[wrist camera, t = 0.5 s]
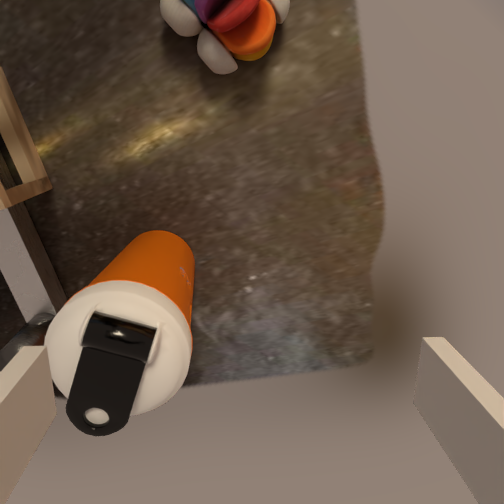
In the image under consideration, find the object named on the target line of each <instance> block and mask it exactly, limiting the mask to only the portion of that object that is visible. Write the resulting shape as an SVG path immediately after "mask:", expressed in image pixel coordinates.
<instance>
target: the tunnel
mask: <svg viewBox="0 0 504 504" xmlns="http://www.w3.org/2000/svg"><path fill="white" fill-rule="evenodd" d="M0 133H1V135H2V137H3V140H4V142H5V144H6V146H7V149H8V151H9V153H10V155H11V158H12V160H13V162H14V164H15V166H16V169H17V171H18V173H19V175H20V178H21V180H22V182H23V184H21V185H18V186H15V187H12V188H9V189H6V190H4V187H3V185H2V183H1V181H0V210H3V209H6V208H8V207H11V206H13V205H15V204H18V203H20V202H22V201H25V200H27V199H29V198H32V197H34V196H36V195H39V194H41V193H43V192H46V191H48V190H50V189H53V187H52V185H51V182H50V180H49V178H48V175H47V173H46V171H45V168H44V166H43V164H42V161H41V159H40V157H39V154H38V152H37V150H36V147H35V145H34V143H33V140H32V138H31V135H30V133H29V131H28V128H27V126H26V124H25V121H24V119H23V117H22V114H21V112H20V110H19V107H18V105H17V103H16V100H15V98H14V96H13V93H12V91H11V89H10V86H9V84H8V82H7V79H6V77H5V74H4V72H3V70H2V67H1V65H0Z"/></svg>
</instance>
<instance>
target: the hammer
mask: <svg viewBox="0 0 504 504" xmlns="http://www.w3.org/2000/svg"><path fill="white" fill-rule="evenodd" d="M0 181H1V183H2V185H3V187H4V190H6V189H9V188H12V187H15V186H16V185H15V182H14V180H13V178H12V176H11V174H10V171H9V169H8V167H7V165H6V163H5V160H4V158H3V156H2V154H1V152H0ZM0 270H1V272H2V274H3V276H4V278H5V280H6V282H7V284H8V286H9V288H10V290H11V292H12V294H13V296H14V298H15V300H16V302H17V304H18V306H19V308H20V310H21V312H22V314H23V316H24V318H25V320H26V322H27V323H26V324H25V326H24V327H23V328H22V329H21V330H20V331H19V332H18V333H17V334H16V335H15V336H14V337H13V338H12V339H11V340H10V341H9V342H8V343H7V344H6V345H5V346H4V347H3V348H2V350H1V351H0V371H2V370H3V369H4V367H5V366H6V365H7V364H8V363H9V362H10V361H11V360H12V359H13V357H14V356H15V355H16V354H17V353H18V352H19V351H20V350H21V349H22V347H23V346H44V341H45V336H46V333H47V330H48V328H49V325H50V324H51V322H52V321H53V319H54V317H55V316H56V314H57V313H58V312H59V311H60V310H61V309H62V307H63V306H64V304H65V303H66V302H67V301H68V299H67V297H66V295H65V293H64V291H63V288H62V286H61V284H60V282H59V280H58V277H57V275H56V273H55V271H54V269H53V266H52V264H51V262H50V260H49V257H48V255H47V253H46V251H45V249H44V246H43V244H42V242H41V240H40V238H39V235H38V233H37V231H36V229H35V227H34V224H33V222H32V220H31V218H30V216H29V213H28V211H27V209H26V207H25V205H24V202H23V201H22V202H20V203H18V204H15V205H13V206H11V207H8V208H6V209H3V210H0Z"/></svg>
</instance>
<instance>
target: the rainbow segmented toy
mask: <svg viewBox="0 0 504 504" xmlns="http://www.w3.org/2000/svg"><path fill="white" fill-rule="evenodd" d="M289 6H290V0H160V11H161V15H162V17H163V19H164V20H165V21H166V22H167V23H168V25H169V26H170V27H171V28H172V29H173V30H174V31H175V32H176V33H177V34H179V35H181V36H186V37H189V36H195V35H197V34H199V38H198V42H197V51H198V55H199V56H200V58H201V59H202V60H203V61H204V63H205V64H206V65H207V66H208V67H209V68H210V69H211V70H212V71H213V72H214V73H217V74H229V73H231V72H233V71H235V70H236V69H237V68H238V66H237V64H236V62H235V60H234V59H233V57H235V58H236V59H238V60H239V59H240V60H244V61H254V60H257V59H259V58H261V57H262V56H264V55H265V54H266V53H267V51H268V50H269V48H270V46H271V43H272V40H273V35H274V31H275V27H276V23H278V24H281V23H283V22H284V20H285V19H286V17H287V14H288V11H289ZM201 21H203V22H204V23H206V24H207V25H208V27H209V28H210V29H205V28H204V27H203V26H202V25H201ZM232 56H233V57H232Z"/></svg>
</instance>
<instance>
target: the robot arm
mask: <svg viewBox="0 0 504 504" xmlns="http://www.w3.org/2000/svg"><path fill="white" fill-rule="evenodd" d="M413 403H414V405H415V407H416V408H417V410H418V411H419V413H420V414H421V416H422V417H423V419H424V420H425V422H426V423H427V425H428V426H429V428H430V430H431V431H432V433H433V434H434V436H435V437H436V439H437V440H438V442H439V443H440V445H441V446H442V448H443V450H444V451H445V453H446V454H447V455H448V457H449V459H450V460H451V462H452V463H453V465H454V466H455V468H456V470H457V471H458V472H459V474H460V476H461V477H462V478H463V480H464V482H465V483H466V485H467V486H468V488H469V489H470V491H471V492H472V494H473V495H474V497H475V499H476V500H477V502H478V503H479V504H504V398H502V396H501V395H500V394H499V393H498V392H497V391H496V390H495V389H494V388H493V387H492V386H491V385H490V384H489V383H488V382H487V381H486V380H485V379H484V378H483V377H482V376H481V375H480V374H479V373H478V372H477V371H476V370H475V369H474V368H473V367H472V366H471V365H470V364H469V363H468V362H467V361H466V360H465V359H464V358H463V357H462V356H461V355H460V354H459V353H458V352H457V351H456V350H455V349H454V348H453V347H452V346H451V345H450V344H449V343H448V342H447V341H446V339H445V338H443V337H431V338H429V337H428V338H422V344H421V351H420V358H419V365H418V372H417V380H416V387H415V395H414V401H413ZM56 415H57V410H56V403H55V397H54V390H53V384H52V377H51V371H50V364H49V358H48V351H47V346H23V347H22V349H21V350H20V351H19V352H18V353H17V354H16V355H15V356H14V357H13V359H12V360H11V361H10V362H9V363H8V364H7V365H6V366H5V367H4V369H3V370H2V371H1V372H0V504H5V503H6V501H7V499H8V498H9V496H10V494H11V493H12V491H13V489H14V487H15V486H16V484H17V482H18V480H19V479H20V477H21V475H22V474H23V472H24V470H25V468H26V467H27V465H28V463H29V461H30V460H31V458H32V456H33V454H34V453H35V451H36V449H37V447H38V446H39V444H40V442H41V441H42V439H43V437H44V436H45V434H46V432H47V430H48V428H49V427H50V425H51V423H52V422H53V420H54V418H55V417H56Z"/></svg>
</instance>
